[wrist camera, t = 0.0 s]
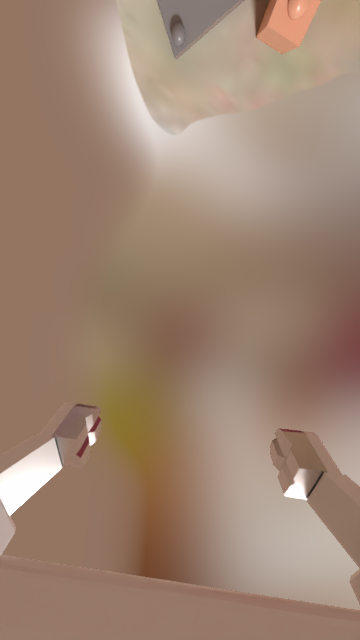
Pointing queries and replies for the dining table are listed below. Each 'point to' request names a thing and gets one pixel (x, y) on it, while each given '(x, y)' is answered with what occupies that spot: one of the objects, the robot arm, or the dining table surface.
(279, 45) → the terracotta brick
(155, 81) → the dining table surface
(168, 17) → the charcoal base brick
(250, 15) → the dining table surface
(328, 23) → the dining table surface
